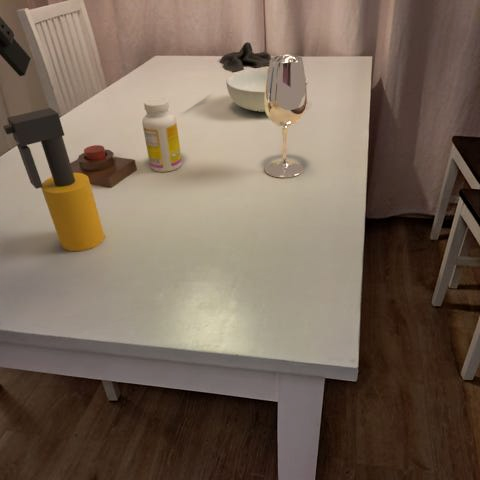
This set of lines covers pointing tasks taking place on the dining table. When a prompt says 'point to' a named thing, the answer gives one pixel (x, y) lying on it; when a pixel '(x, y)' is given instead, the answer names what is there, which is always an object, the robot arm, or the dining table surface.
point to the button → (94, 152)
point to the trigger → (30, 166)
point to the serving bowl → (249, 89)
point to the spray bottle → (61, 181)
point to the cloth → (244, 59)
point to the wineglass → (285, 104)
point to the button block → (104, 169)
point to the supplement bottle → (161, 136)
